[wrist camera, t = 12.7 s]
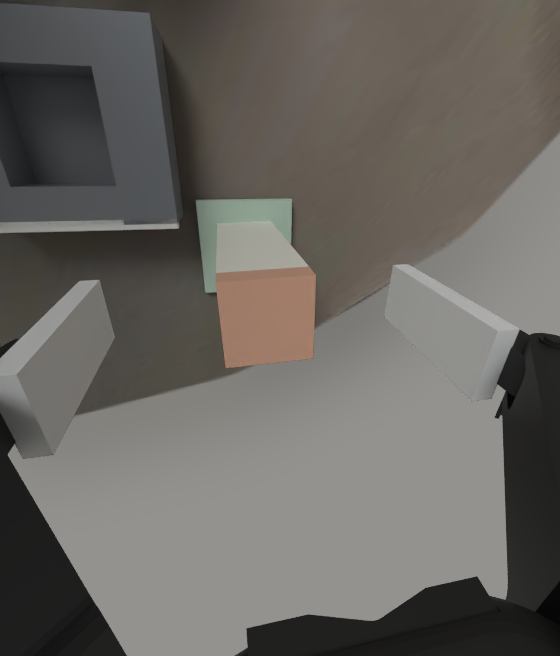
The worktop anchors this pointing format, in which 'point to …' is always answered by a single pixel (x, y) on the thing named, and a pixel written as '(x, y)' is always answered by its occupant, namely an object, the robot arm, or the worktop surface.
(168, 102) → the frame
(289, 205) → the pad
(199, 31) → the worktop surface
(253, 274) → the plug
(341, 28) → the worktop surface
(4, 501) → the robot arm
